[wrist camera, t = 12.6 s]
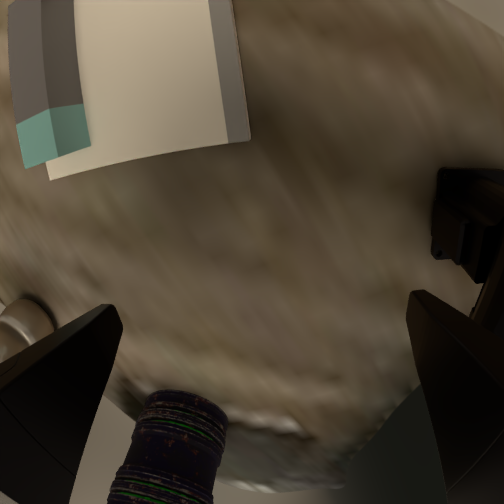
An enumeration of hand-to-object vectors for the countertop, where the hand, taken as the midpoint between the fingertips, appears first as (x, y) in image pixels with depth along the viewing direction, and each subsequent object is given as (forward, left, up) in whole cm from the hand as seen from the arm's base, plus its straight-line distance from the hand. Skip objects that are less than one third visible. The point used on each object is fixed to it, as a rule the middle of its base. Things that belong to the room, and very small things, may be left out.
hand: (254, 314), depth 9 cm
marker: (+13, -11, -11) cm, 20 cm away
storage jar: (+12, +24, -12) cm, 29 cm away
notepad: (+8, -10, -12) cm, 18 cm away
